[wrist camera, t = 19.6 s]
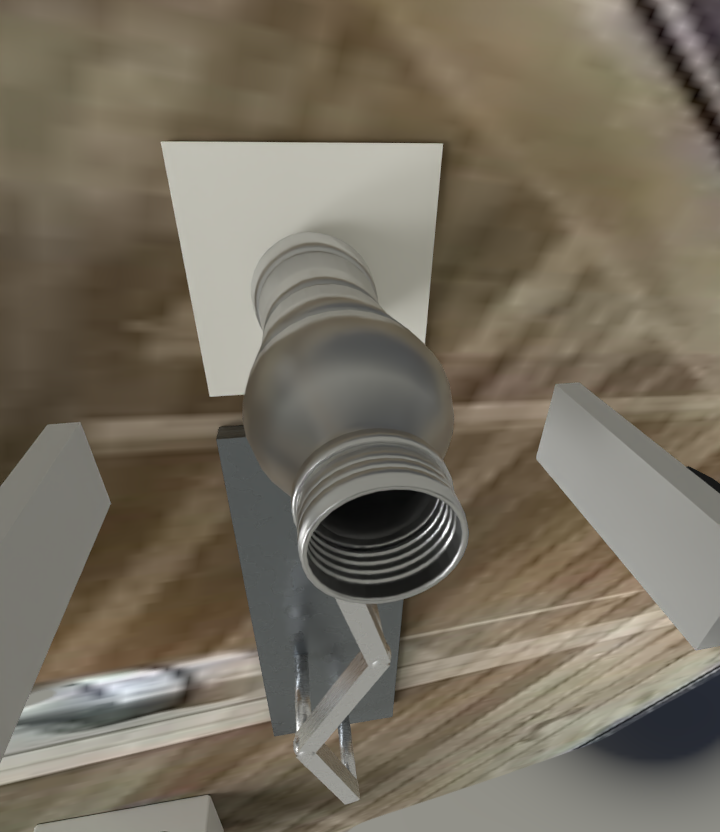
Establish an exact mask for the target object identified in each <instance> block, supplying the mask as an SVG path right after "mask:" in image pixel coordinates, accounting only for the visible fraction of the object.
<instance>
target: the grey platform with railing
mask: <svg viewBox="0 0 720 832" xmlns="http://www.w3.org/2000/svg"><path fill="white" fill-rule="evenodd" d="M216 440H217V445H218V450H219V455H220V460H221V466H222V471H223V476H224V481H225V486H226V491H227V496H228V502H229V507H230V512H231V517H232V522H233V527H234V532H235V537H236V543H237V548H238V553H239V558H240V563H241V568H242V573H243V578H244V584H245V589H246V594H247V599H248V604H249V609H250V614H251V619H252V625H253V630H254V635H255V640H256V645H257V650H258V655H259V661H260V666H261V671H262V676H263V681H264V686H265V691H266V696H267V702H268V707H269V712H270V717H271V722H272V727H273V732H274V736H279V735H285V734H291V733H295V738H294V741H293V749H294V752H295V753H296V757H297V758H298V759H299V760H300V761H301V762H302V763H303V764H304V765H305V766H306V767H307V768H308V769H309V770H310V771H311V772H312V773H313V774H314V775H315V776H316V777H317V778H318V779H319V780H320V781H321V782H322V783H323V784H324V785H325V786H326V787H327V788H329V789H330V790H331V791H332V792H333V793H334V794H335V795H336V796H337V797H338V798H339V799H340V800H341V801H342V802H343V803H344V804H348V803H351V802H355V801H358V800H360V794H359V786H358V780H357V777H356V769H355V761H354V753H353V744H352V736H351V728H350V724H352V723H358V722H364V721H370V720H376V719H382V718H388V717H392V715H393V704H394V694H395V683H396V672H397V662H398V651H399V640H400V630H401V619H402V608H403V599H402V600H398V601H394V602H388V603H382V604H360V603H351V602H347V601H343V600H339V599H336V598H334V597H332V596H329V595H327V594H325V593H324V592H322V591H321V590H319V589H318V588H317V587H315V586H314V585H313V583H312V582H311V581H310V580H309V579H308V578H307V576H306V574H305V572H304V570H303V568H302V564H301V561H300V557H299V552H298V538H297V528H296V526H295V524H294V521H293V515H292V508H291V497H290V496H289V495H288V494H286V493H285V492H284V491H283V490H281V489H280V488H279V487H278V486H277V485H275V484H274V483H273V482H272V481H271V480H270V479H269V477H268V476H267V475H266V474H265V472H264V471H263V470H262V469H261V467H260V465H259V463H258V461H257V458H256V456H255V454H254V452H253V450H252V448H251V446H250V444H249V442H248V440H247V438H246V434H245V429H244V425H242V426H228V427H219V429H218V434H217V439H216ZM337 727H338V734H339V744H340V754H341V761H340V760H339V759H338V758H337V757H336V756H335V754H334V753H333V752H332V751H331V750H330V749H329V748H328V747H327V746H326V744H325V741H326V740H327V739H328V738H329V737H330V735H331V734H332V733H333V732H334V731H335V730H336V728H337Z"/></svg>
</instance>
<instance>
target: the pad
mask: <svg viewBox="0 0 720 832" xmlns="http://www.w3.org/2000/svg"><path fill="white" fill-rule="evenodd" d="M161 146H162V151H163V156H164V161H165V167H166V172H167V177H168V182H169V187H170V193H171V198H172V203H173V208H174V213H175V219H176V224H177V229H178V234H179V239H180V245H181V250H182V255H183V260H184V265H185V270H186V276H187V281H188V286H189V291H190V296H191V302H192V307H193V312H194V317H195V322H196V328H197V333H198V338H199V343H200V348H201V354H202V359H203V364H204V369H205V374H206V379H207V385H208V390H209V395H210V397H213V396H228V395H243V394H245V390H246V386H247V382H248V378H249V374H250V370H251V368H252V366H253V364H254V361H255V359H256V357H257V354H258V352H259V349H260V347H261V343H262V337H263V332H262V329H261V327H260V325H259V323H258V320H257V318H256V315H255V312H254V309H253V305H252V299H251V282H252V278H253V274H254V270H255V268H256V266H257V264H258V262H259V260H260V259H261V257H262V256H263V255H264V254H265V252H266V251H267V250H268V249H269V248H271V247H272V246H273V245H274V244H275V243H277V242H278V241H279V240H281V239H283V238H285V237H287V236H289V235H293V234H297V233H301V232H316V233H321V234H327V235H330V236H333V237H336V238H338V239H341V240H342V241H344V242H345V243H347V244H349V245H350V246H352V247H353V248H354V249H355V250H356V251H357V252H358V253H359V254H360V255H361V256H362V258H363V259H364V261H365V262H366V263H367V265H368V267H369V269H370V271H371V273H372V276H373V279H374V282H375V286H376V291H377V295H378V302H379V305H380V306H381V307H382V308H383V309H384V311H385V312H386V313H387V314H388V315H390V316H391V317H392V318H394V319H395V320H397V321H398V322H399V323H401V324H402V325H403V326H405V327H406V328H408V329H409V330H410V331H411V332H412V333H413V334H414V335H416V336H417V337H418V338H419V339H420V340H421V341H422V342H423V343H424V344H425V337H426V326H427V315H428V304H429V293H430V282H431V271H432V260H433V249H434V238H435V227H436V216H437V205H438V194H439V183H440V172H441V161H442V150H443V144H441V143H330V142H195V141H162V142H161Z"/></svg>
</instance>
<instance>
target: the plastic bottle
mask: <svg viewBox="0 0 720 832" xmlns="http://www.w3.org/2000/svg"><path fill="white" fill-rule="evenodd" d="M251 299H252V305H253V309H254V312H255V315H256V318H257V320H258V323H259V325H260V327H261V329H262V332H263V337H262V343H261V347H260V349H259V352H258V354H257V357H256V359H255V361H254V364H253V366H252V368H251V370H250V374H249V378H248V382H247V386H246V390H245V395H244V399H243V418H242V420H243V425H244V429H245V434H246V438H247V440H248V442H249V444H250V446H251V448H252V450H253V452H254V454H255V456H256V458H257V461H258V463H259V465H260V467H261V469H262V470H263V471H264V472H265V474H266V475H267V476H268V477H269V479H270V480H271V481H272V482H273V483H274V484H275V485H277V486H278V487H279V488H280V489H281V490H283V491H284V492H285V493H286V494H288V495H289V496H290V497H291V508H292V515H293V521H294V524H295V526H296V528H297V538H298V552H299V557H300V561H301V564H302V568H303V570H304V572H305V574H306V576H307V578H308V579H309V580H310V581H311V582H312V583H313V585H314V586H315V587H317V588H318V589H319V590H321V591H322V592H324V593H325V594H327V595H329V596H332V597H334V598H336V599H339V600H343V601H347V602H351V603H360V604H382V603H388V602H394V601H398V600H402V599H406V598H409V597H412V596H414V595H417V594H419V593H421V592H424V591H425V590H427V589H429V588H431V587H432V586H434V585H436V584H437V583H439V582H440V581H441V580H442V579H444V578H445V577H446V576H447V575H448V574H449V573H450V572H451V571H452V570H453V569H454V568H455V567H456V566H457V564H458V563H459V561H460V560H461V558H462V557H463V555H464V552H465V549H466V547H467V544H468V536H469V530H468V524H467V520H466V515H465V512H464V510H463V508H462V506H461V504H460V502H459V500H458V498H457V496H456V494H455V492H454V488H453V482H452V478H451V475H450V473H449V471H448V469H447V467H446V465H445V463H444V461H443V459H444V457H445V455H446V452H447V450H448V447H449V444H450V441H451V437H452V434H453V425H454V411H453V404H452V397H451V391H450V384H449V381H448V379H447V376H446V374H445V371H444V369H443V366H442V365H441V364H440V362H439V361H438V359H437V358H436V357H435V355H434V354H433V352H432V351H431V350H430V349H429V348H428V347H427V346H426V345H425V344H424V343H423V342H422V341H421V340H420V339H419V338H418V337H417V336H416V335H414V334H413V333H412V332H411V331H410V330H409V329H408V328H406V327H405V326H403V325H402V324H401V323H399V322H398V321H397V320H395V319H394V318H392V317H391V316H390V315H388V314H387V313H386V312H385V311H384V309H383V308H382V307H381V306H380V305H379V302H378V295H377V291H376V286H375V282H374V279H373V276H372V273H371V271H370V269H369V267H368V265H367V263H366V262H365V261H364V259H363V258H362V256H361V255H360V254H359V253H358V252H357V251H356V250H355V249H354V248H353V247H352V246H350V245H349V244H347V243H345V242H344V241H342V240H341V239H338V238H336V237H333V236H330V235H327V234H321V233H316V232H301V233H297V234H293V235H289V236H287V237H285V238H283V239H281V240H279V241H278V242H277V243H275V244H274V245H273V246H272V247H271V248H269V249H268V250H267V251H266V252H265V254H264V255H263V256H262V257H261V259H260V260H259V262H258V264H257V266H256V268H255V270H254V274H253V278H252V282H251Z"/></svg>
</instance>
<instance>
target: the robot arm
mask: <svg viewBox="0 0 720 832" xmlns="http://www.w3.org/2000/svg"><path fill="white" fill-rule="evenodd" d="M536 459H537V460H538V462H539V463H540V464H541V465H542V466H543V468H544V469H545V470H546V471H547V472H548V474H549V475H550V476H551V477H552V478H553V480H554V481H555V482H556V483H557V484H558V486H559V487H560V488H561V489H562V490H563V492H564V493H565V494H566V495H567V496H568V498H569V499H570V500H571V501H572V502H573V504H574V505H575V506H576V507H577V508H578V510H579V511H580V512H581V513H582V514H583V516H584V517H585V518H586V519H587V520H588V522H589V523H590V524H591V525H592V526H593V528H594V529H595V530H596V531H597V533H598V534H599V535H600V536H601V537H602V539H603V540H604V541H605V542H606V543H607V545H608V546H609V547H610V548H611V549H612V551H613V552H614V553H615V554H616V555H617V557H618V558H619V559H620V560H621V561H622V563H623V564H624V565H625V566H626V567H627V569H628V570H629V571H630V572H631V573H632V575H633V576H634V577H635V578H636V579H637V581H638V582H639V583H640V584H641V585H642V587H643V588H644V589H645V590H646V591H647V593H648V594H649V595H650V596H651V597H652V599H653V600H654V601H655V602H656V603H657V605H658V606H659V607H660V608H661V609H662V611H663V612H664V613H665V614H666V615H667V617H668V618H669V619H670V620H671V621H672V623H673V624H674V625H675V626H676V627H677V629H678V630H679V631H680V632H681V633H682V635H683V636H684V637H685V638H686V639H687V641H688V642H689V643H690V644H691V645H692V647H693V648H694V649H695V650H701V649H706V648H711V647H717V646H720V484H719V483H718V482H717V481H715V480H714V479H713V478H711V477H709V476H707V475H705V474H703V473H701V472H699V471H697V470H695V469H693V468H691V467H689V466H688V467H685V466H684V465H683V464H682V463H680V462H679V461H678V460H677V459H675V458H674V457H673V456H671V455H670V454H669V453H668V452H666V451H665V450H664V449H663V448H661V447H660V446H659V445H658V444H656V443H655V442H654V441H652V440H651V439H650V438H649V437H647V436H646V435H645V434H644V433H642V432H641V431H640V430H639V429H637V428H636V427H635V426H634V425H632V424H631V423H630V422H628V421H627V420H626V419H625V418H623V417H622V416H621V415H620V414H618V413H617V412H616V411H615V410H613V409H612V408H611V407H610V406H608V405H607V404H606V403H604V402H603V401H602V400H601V399H599V398H598V397H597V396H596V395H594V394H593V393H592V392H591V391H589V390H588V389H587V388H585V387H584V386H583V385H582V384H580V383H579V382H578V383H565V384H555V388H554V392H553V396H552V400H551V403H550V407H549V411H548V415H547V418H546V422H545V426H544V430H543V433H542V437H541V441H540V445H539V449H538V452H537V456H536ZM110 504H111V502H110V499H109V497H108V494H107V491H106V489H105V486H104V483H103V481H102V478H101V475H100V473H99V470H98V468H97V465H96V462H95V460H94V457H93V454H92V452H91V449H90V446H89V444H88V441H87V438H86V436H85V433H84V430H83V428H82V425H81V422H74V423H62V424H49V425H47V426H46V427H45V429H44V430H43V431H42V433H41V434H40V435H39V436H38V438H37V439H36V440H35V442H34V443H33V444H32V446H31V447H30V448H29V450H28V451H27V452H26V454H25V455H24V456H23V457H22V459H21V460H20V461H19V463H18V464H17V465H16V467H15V468H14V469H13V471H12V472H11V473H10V475H9V476H8V477H7V478H6V480H5V481H4V482H3V484H2V485H1V486H0V762H1V760H2V758H3V755H4V753H5V751H6V748H7V746H8V743H9V741H10V739H11V736H12V734H13V732H14V729H15V727H16V725H17V722H18V720H19V718H20V715H21V713H22V711H23V708H24V706H25V703H26V701H27V699H28V697H29V694H30V692H31V690H32V687H33V685H34V683H35V680H36V678H37V676H38V673H39V671H40V668H41V666H42V664H43V661H44V659H45V657H46V654H47V652H48V650H49V647H50V645H51V643H52V640H53V638H54V636H55V633H56V631H57V629H58V626H59V624H60V622H61V619H62V617H63V615H64V612H65V610H66V608H67V605H68V603H69V600H70V598H71V596H72V593H73V591H74V589H75V586H76V584H77V582H78V579H79V577H80V575H81V572H82V570H83V568H84V565H85V563H86V561H87V558H88V556H89V554H90V551H91V549H92V547H93V544H94V542H95V540H96V537H97V535H98V532H99V530H100V528H101V525H102V523H103V521H104V518H105V516H106V514H107V511H108V509H109V507H110Z"/></svg>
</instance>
